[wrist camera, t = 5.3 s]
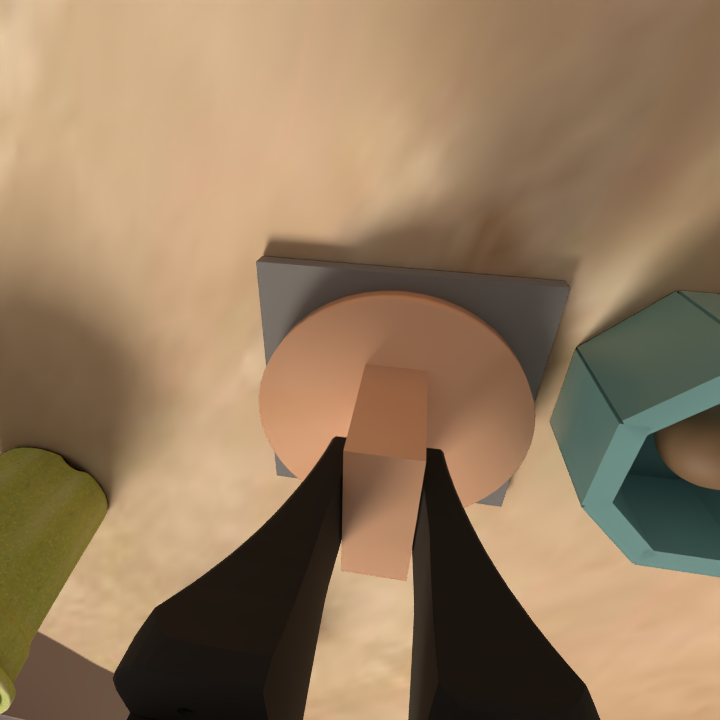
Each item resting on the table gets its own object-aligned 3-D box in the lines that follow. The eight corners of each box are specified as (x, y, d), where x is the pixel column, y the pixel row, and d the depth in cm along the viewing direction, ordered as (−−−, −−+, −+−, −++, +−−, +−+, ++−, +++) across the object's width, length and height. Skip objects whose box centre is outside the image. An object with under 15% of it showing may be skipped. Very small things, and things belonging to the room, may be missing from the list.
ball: (758, 379, 13) (834, 442, 11) (714, 448, 15) (771, 518, 12) (659, 369, 14) (710, 428, 11) (625, 438, 15) (664, 504, 13)
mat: (565, 281, 13) (570, 287, 13) (499, 495, 18) (501, 506, 18) (262, 256, 14) (256, 261, 14) (280, 465, 20) (277, 475, 19)
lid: (566, 305, 12) (631, 403, 8) (498, 516, 17) (518, 641, 13) (254, 277, 13) (177, 353, 9) (275, 484, 18) (231, 591, 14)
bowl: (882, 307, 12) (1053, 382, 9) (743, 493, 16) (824, 592, 13) (598, 284, 13) (656, 344, 10) (534, 466, 17) (559, 553, 14)
